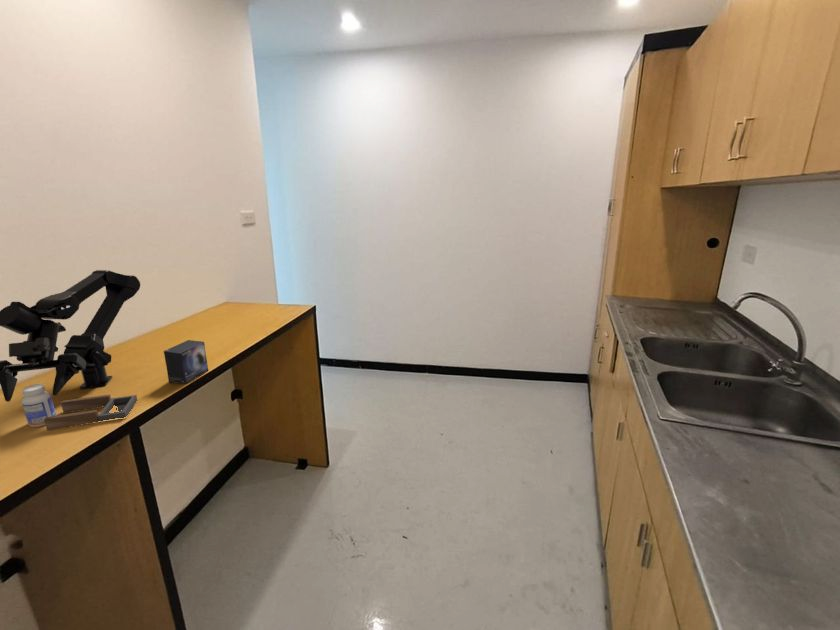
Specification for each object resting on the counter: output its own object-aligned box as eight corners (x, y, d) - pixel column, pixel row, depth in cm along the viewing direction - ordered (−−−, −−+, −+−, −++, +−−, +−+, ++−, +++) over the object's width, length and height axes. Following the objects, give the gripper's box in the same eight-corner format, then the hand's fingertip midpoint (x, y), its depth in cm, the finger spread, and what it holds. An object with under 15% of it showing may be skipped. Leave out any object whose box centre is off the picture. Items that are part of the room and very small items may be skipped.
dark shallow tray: (113, 404, 111) (111, 398, 111) (137, 400, 113) (136, 394, 113) (99, 422, 102) (97, 416, 102) (126, 418, 104) (124, 412, 104)
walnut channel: (65, 410, 108) (62, 400, 107) (112, 404, 111) (109, 394, 110) (47, 430, 99) (43, 419, 98) (98, 422, 102) (95, 412, 101)
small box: (186, 384, 123) (180, 352, 120) (167, 382, 124) (161, 351, 121) (209, 370, 133) (205, 340, 130) (192, 368, 134) (187, 339, 131)
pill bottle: (45, 415, 106) (35, 381, 103) (62, 417, 105) (53, 383, 102) (22, 426, 100) (11, 391, 98) (41, 428, 100) (30, 393, 97)
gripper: (-26, 331, 96) (-43, 393, 89) (70, 323, 102) (61, 381, 95) (4, 350, 105) (-10, 408, 99) (90, 342, 111) (82, 396, 105)
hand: (31, 398), depth 99 cm, fingers open, 9 cm apart
